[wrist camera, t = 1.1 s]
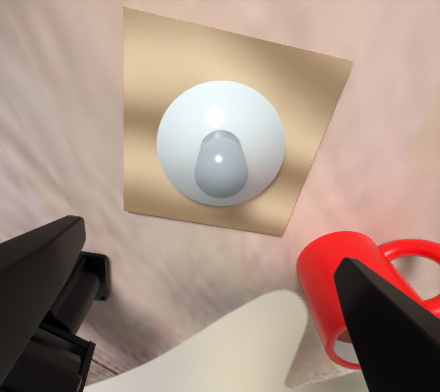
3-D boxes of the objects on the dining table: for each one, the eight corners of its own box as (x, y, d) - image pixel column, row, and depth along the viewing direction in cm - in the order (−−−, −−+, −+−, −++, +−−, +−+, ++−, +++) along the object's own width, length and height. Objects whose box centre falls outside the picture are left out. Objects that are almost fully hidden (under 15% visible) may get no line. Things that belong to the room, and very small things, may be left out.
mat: (280, 232, 22) (282, 236, 22) (126, 207, 21) (124, 210, 20) (350, 61, 15) (354, 61, 15) (126, 8, 14) (123, 6, 14)
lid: (263, 208, 20) (274, 247, 16) (155, 190, 19) (137, 226, 15) (300, 95, 16) (329, 107, 12) (163, 66, 15) (142, 68, 11)
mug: (432, 248, 23) (521, 328, 16) (317, 298, 27) (351, 381, 20) (407, 191, 20) (503, 260, 13) (281, 256, 24) (306, 337, 17)
